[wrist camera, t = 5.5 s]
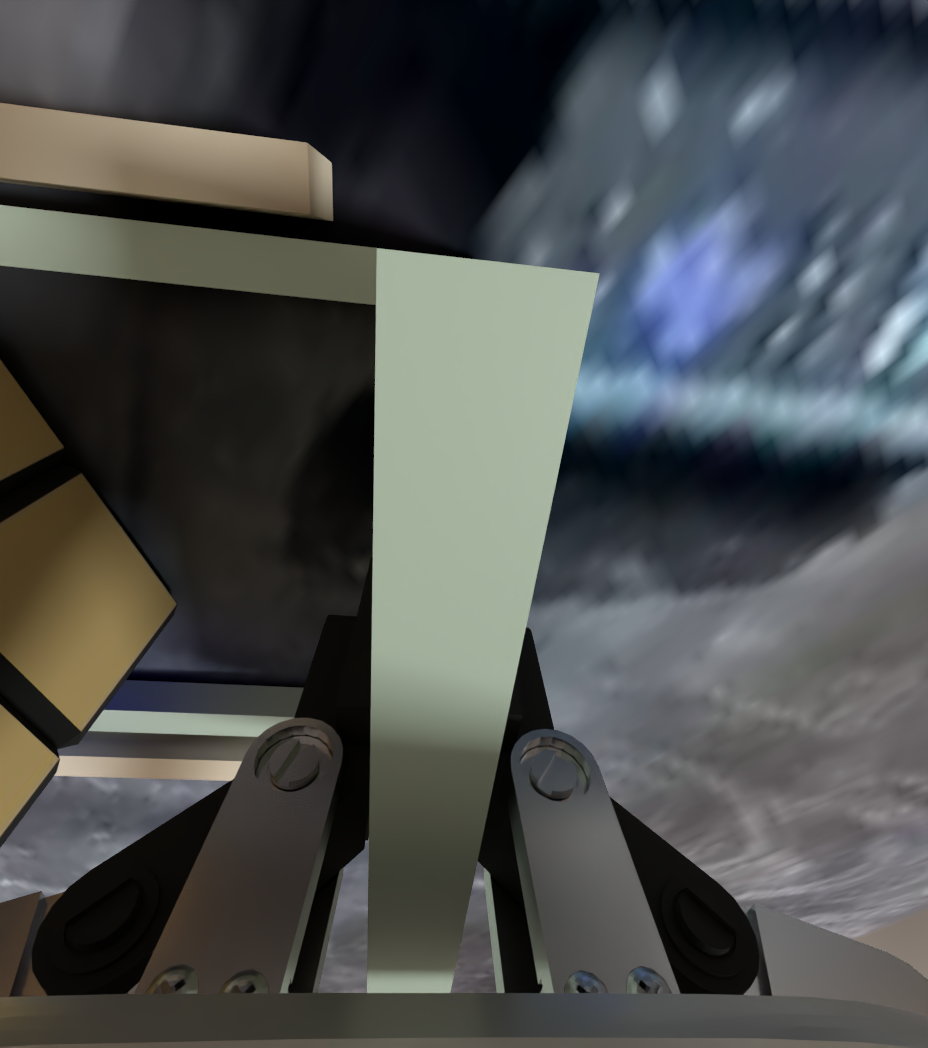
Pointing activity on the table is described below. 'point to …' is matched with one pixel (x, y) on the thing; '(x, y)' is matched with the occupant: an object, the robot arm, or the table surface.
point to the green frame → (396, 531)
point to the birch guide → (181, 177)
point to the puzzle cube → (59, 604)
